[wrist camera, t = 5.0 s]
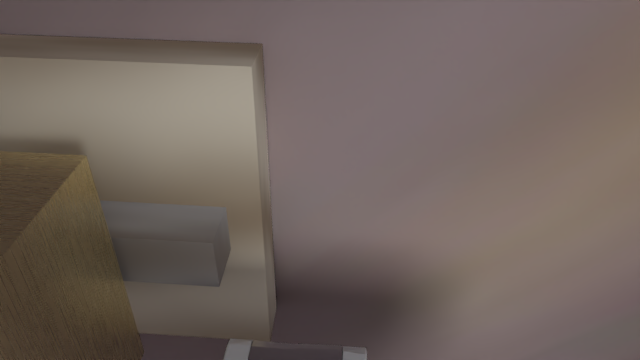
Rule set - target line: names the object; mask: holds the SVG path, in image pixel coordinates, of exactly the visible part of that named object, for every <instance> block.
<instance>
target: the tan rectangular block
mask: <svg viewBox="0 0 640 360" xmlns="http://www.w3.org/2000/svg"><path fill="white" fill-rule="evenodd" d="M143 354H144V349H143V346H142V343H141V339H140V336H139V332H138V329H137V326H136V322H135V319H134V315H133V312H132V309H131V305H130V302H129V298H128V295H127V292H126V288H125V285H124V281H123V278H122V275H121V271H120V268H119V264H118V261H117V258H116V254H115V251H114V247H113V244H112V240H111V237H110V234H109V230H108V227H107V223H106V220H105V217H104V213H103V210H102V206H101V203H100V200H99V196H98V193H97V189H96V186H95V183H94V179H93V176H92V172H91V169H90V166H89V162H88V159H87V155H69V154H49V153H28V152H8V151H0V360H141V358H142V356H143Z"/></svg>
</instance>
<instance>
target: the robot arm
mask: <svg viewBox="0 0 640 360" xmlns="http://www.w3.org/2000/svg"><path fill="white" fill-rule="evenodd" d="M223 360H367V351H366V347H347V346H343V348H342V345H323V344H304V343H298V344H292V343H280V342H269V341H257V340H246V339H232V338H231V339H230V341H229V342H228V344H227V347H226V351H225V354H224V358H223Z"/></svg>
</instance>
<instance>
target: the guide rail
mask: <svg viewBox="0 0 640 360" xmlns="http://www.w3.org/2000/svg"><path fill="white" fill-rule="evenodd" d="M0 151H8V152H28V153H49V154H69V155H87V159H88V162H89V166H90V169H91V172H92V176H93V179H94V183H95V186H96V189H97V193H98V196H99V200H100V203H101V206H102V210H103V213H104V217H105V220H106V223H107V227H108V230H109V234H110V237H111V240H112V244H113V247H114V251H115V254H116V258H117V261H118V264H119V268H120V271H121V275H122V278H123V281H124V285H125V288H126V292H127V295H128V298H129V302H130V305H131V309H132V312H133V315H134V319H135V322H136V326H137V329H138V332H139V333H145V334H159V335H174V336H189V337H204V338H219V339H231V338H232V339H246V340H257V341H269V342H271V336H272V330H273V325H274V319H275V314H276V308H277V307H276V289H275V270H274V252H273V233H272V215H271V196H270V178H269V159H268V141H267V123H266V104H265V86H264V67H263V49H262V44H251V43H224V42H197V41H170V40H143V39H116V38H89V37H62V36H35V35H8V34H0Z"/></svg>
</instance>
